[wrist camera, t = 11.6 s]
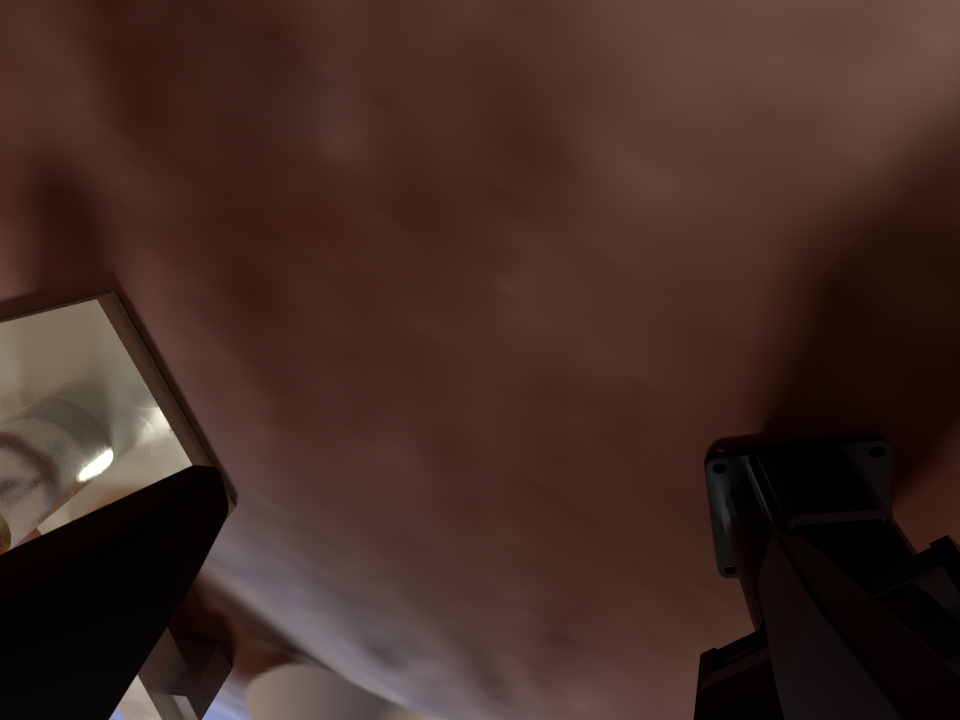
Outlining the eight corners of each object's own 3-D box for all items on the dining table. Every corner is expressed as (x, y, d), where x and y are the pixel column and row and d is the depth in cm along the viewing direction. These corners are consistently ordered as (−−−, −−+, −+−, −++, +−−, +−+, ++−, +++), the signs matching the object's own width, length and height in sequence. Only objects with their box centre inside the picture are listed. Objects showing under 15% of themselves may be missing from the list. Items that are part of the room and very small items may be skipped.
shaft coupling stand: (325, 667, 34) (286, 756, 29) (27, 673, 40) (-42, 746, 36) (114, 290, 24) (9, 338, 20) (-233, 378, 31) (-371, 429, 26)
